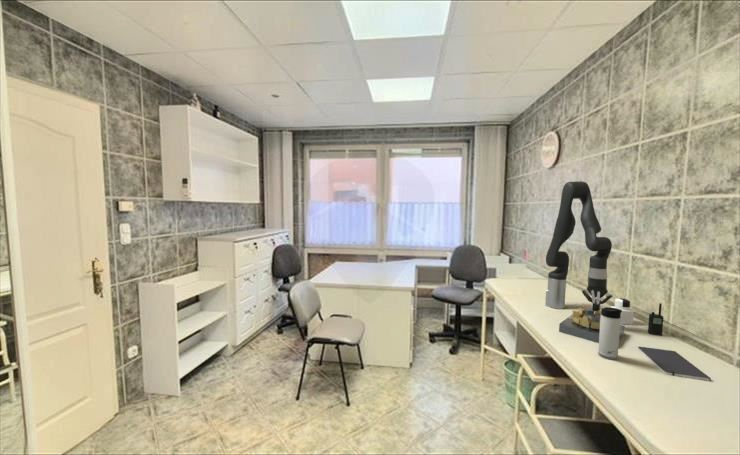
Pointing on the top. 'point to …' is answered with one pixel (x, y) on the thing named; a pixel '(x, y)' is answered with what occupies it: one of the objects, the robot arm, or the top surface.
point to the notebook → (673, 363)
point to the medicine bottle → (624, 310)
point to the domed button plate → (584, 328)
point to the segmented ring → (586, 317)
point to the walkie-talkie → (656, 323)
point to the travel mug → (609, 333)
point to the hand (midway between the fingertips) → (596, 311)
